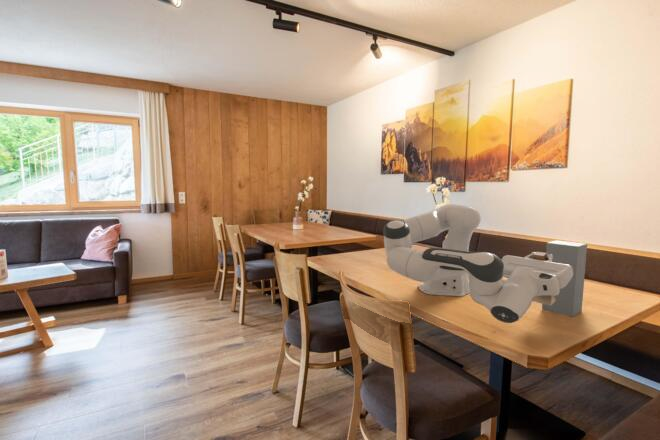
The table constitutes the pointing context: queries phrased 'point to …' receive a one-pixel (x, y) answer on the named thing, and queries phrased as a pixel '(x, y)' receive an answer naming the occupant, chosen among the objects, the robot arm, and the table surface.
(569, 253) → the pedestal
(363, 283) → the table surface
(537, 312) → the table surface
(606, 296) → the table surface
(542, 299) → the mallet
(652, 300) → the table surface
